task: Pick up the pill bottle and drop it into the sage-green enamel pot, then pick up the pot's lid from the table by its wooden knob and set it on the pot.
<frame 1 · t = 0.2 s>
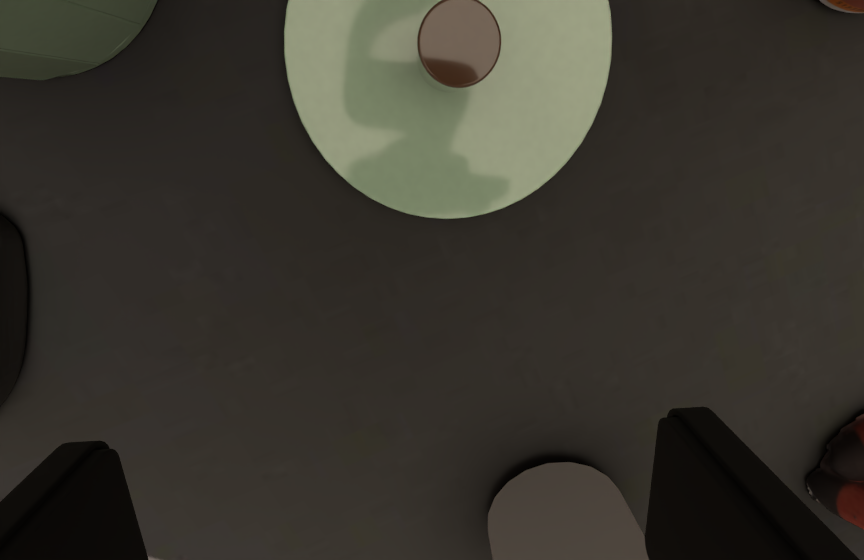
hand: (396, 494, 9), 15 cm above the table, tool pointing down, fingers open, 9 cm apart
can: (550, 504, 29), on the table
lid: (448, 58, 20), point 1 cm above the table
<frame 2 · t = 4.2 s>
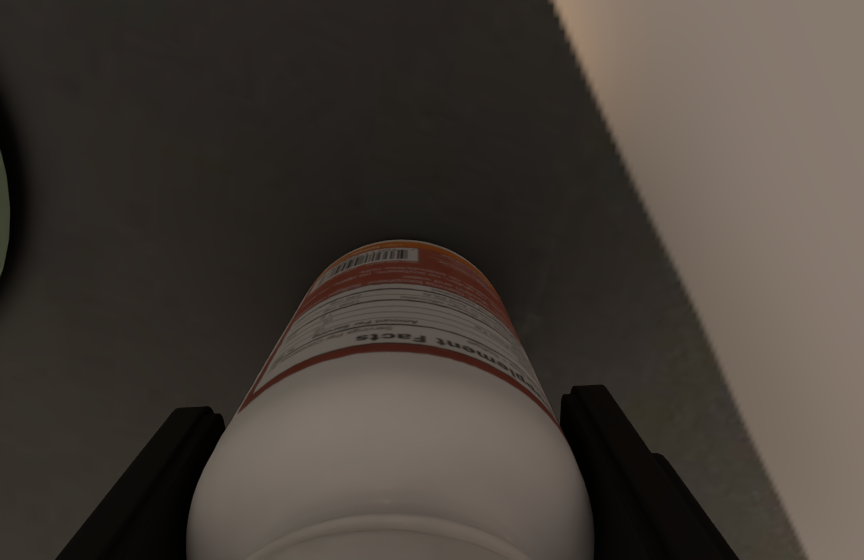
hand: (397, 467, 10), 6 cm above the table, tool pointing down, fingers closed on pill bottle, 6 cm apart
pill bottle: (403, 330, 15), on the table, touching gripper
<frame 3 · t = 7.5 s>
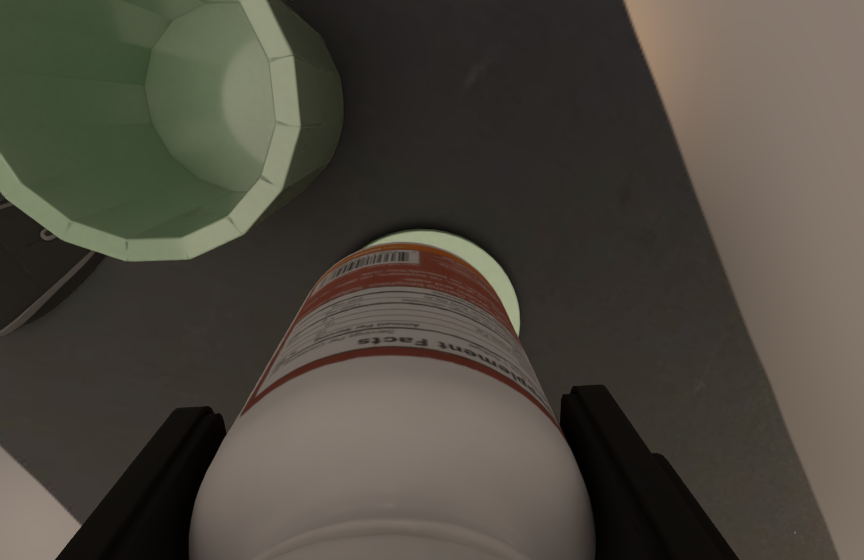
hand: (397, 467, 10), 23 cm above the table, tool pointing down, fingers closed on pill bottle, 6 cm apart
pill bottle: (404, 332, 15), point 17 cm above the table, touching gripper
pot: (240, 102, 29), on the table
lid: (421, 323, 33), point 1 cm above the table
computer mouse: (20, 260, 32), on the table
when the fingers open (15 cm above the table, at t = 11.1 s): pill bottle drops 8 cm, resting on pot.
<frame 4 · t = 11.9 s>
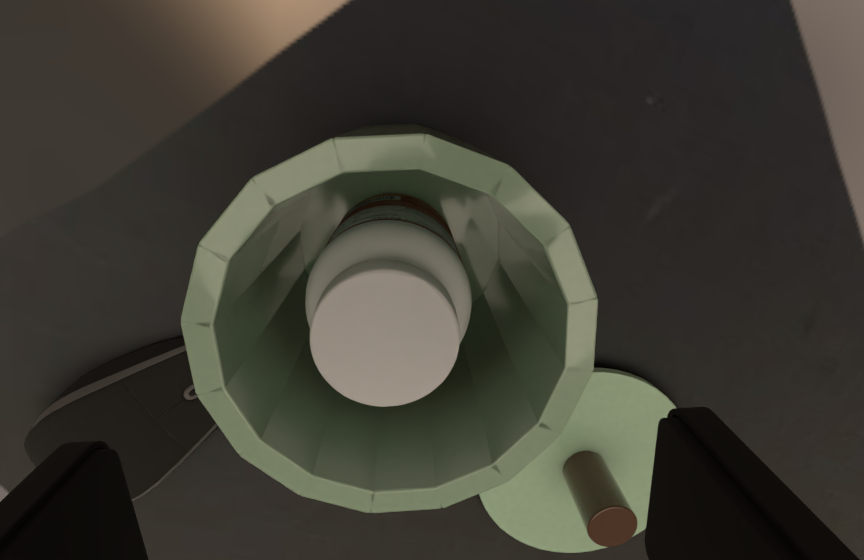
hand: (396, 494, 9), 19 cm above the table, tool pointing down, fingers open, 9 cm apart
pill bottle: (394, 249, 26), resting on pot
pot: (400, 242, 27), on the table
lid: (580, 462, 31), point 1 cm above the table
computer mouse: (148, 407, 29), on the table
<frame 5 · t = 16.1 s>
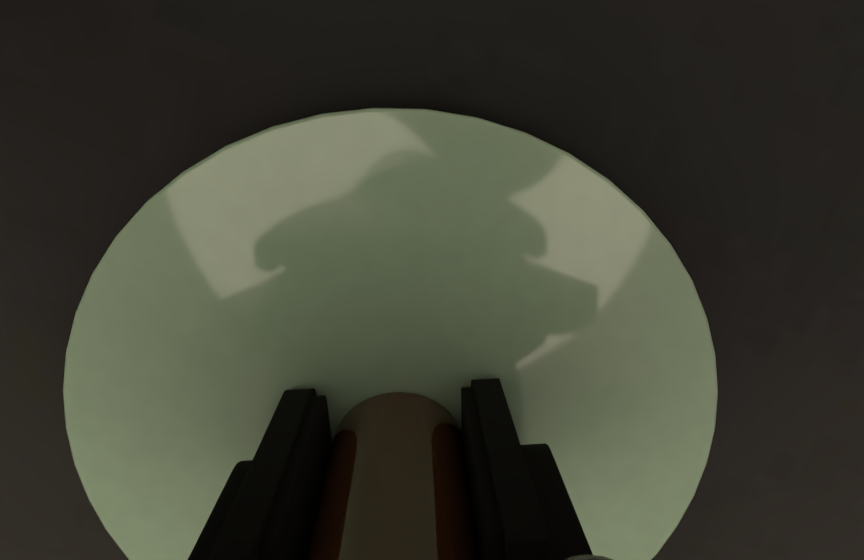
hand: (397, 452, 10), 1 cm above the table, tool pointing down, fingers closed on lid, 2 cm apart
lid: (399, 429, 11), point 1 cm above the table, touching gripper
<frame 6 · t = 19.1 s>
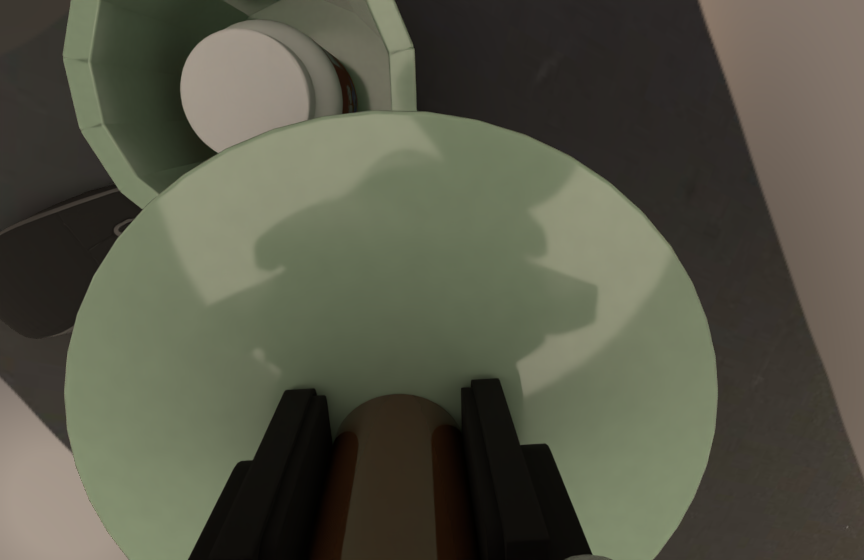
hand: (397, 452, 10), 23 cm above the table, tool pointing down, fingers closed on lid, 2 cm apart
pill bottle: (305, 103, 29), resting on pot
pot: (312, 98, 29), on the table
lid: (400, 430, 11), point 22 cm above the table, touching gripper
computer mouse: (87, 256, 32), on the table
when the fingers open (13 cm above the table, at t = 22.4 s): lid stays where it is, resting on pot.
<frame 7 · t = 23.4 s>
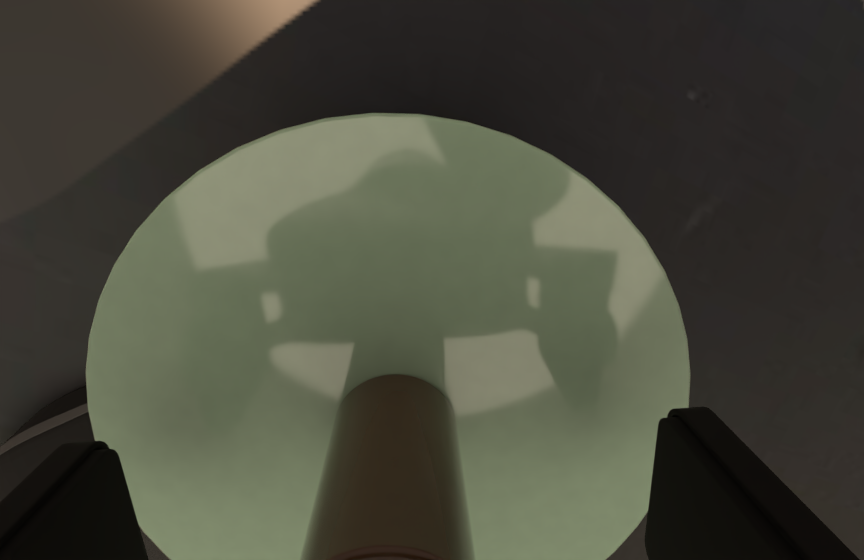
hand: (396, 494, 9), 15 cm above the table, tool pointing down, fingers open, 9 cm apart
lid: (396, 410, 11), point 12 cm above the table, touching pot
computer mouse: (121, 439, 26), on the table
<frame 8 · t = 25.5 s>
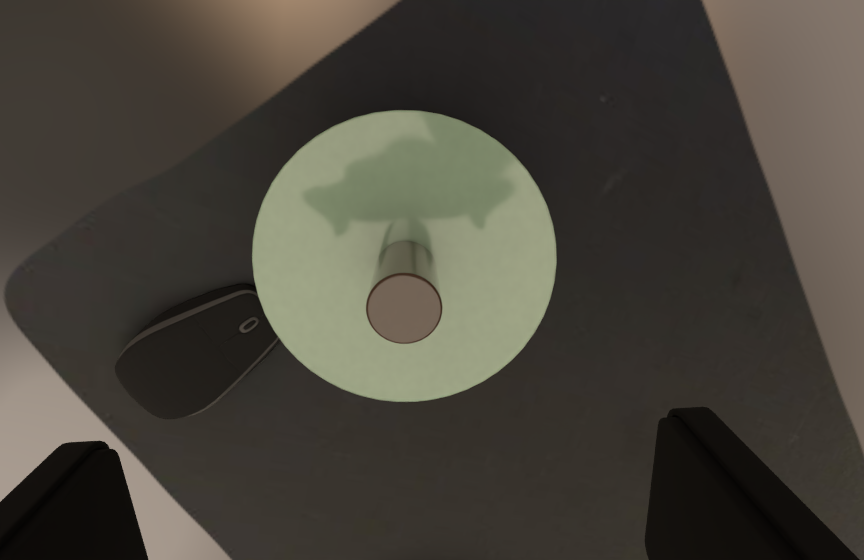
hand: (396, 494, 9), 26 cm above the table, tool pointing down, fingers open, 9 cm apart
lid: (406, 265, 22), point 12 cm above the table, touching pot
computer mouse: (207, 343, 37), on the table
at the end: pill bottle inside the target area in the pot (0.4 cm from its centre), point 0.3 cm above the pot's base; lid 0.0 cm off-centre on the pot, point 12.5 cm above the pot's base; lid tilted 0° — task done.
